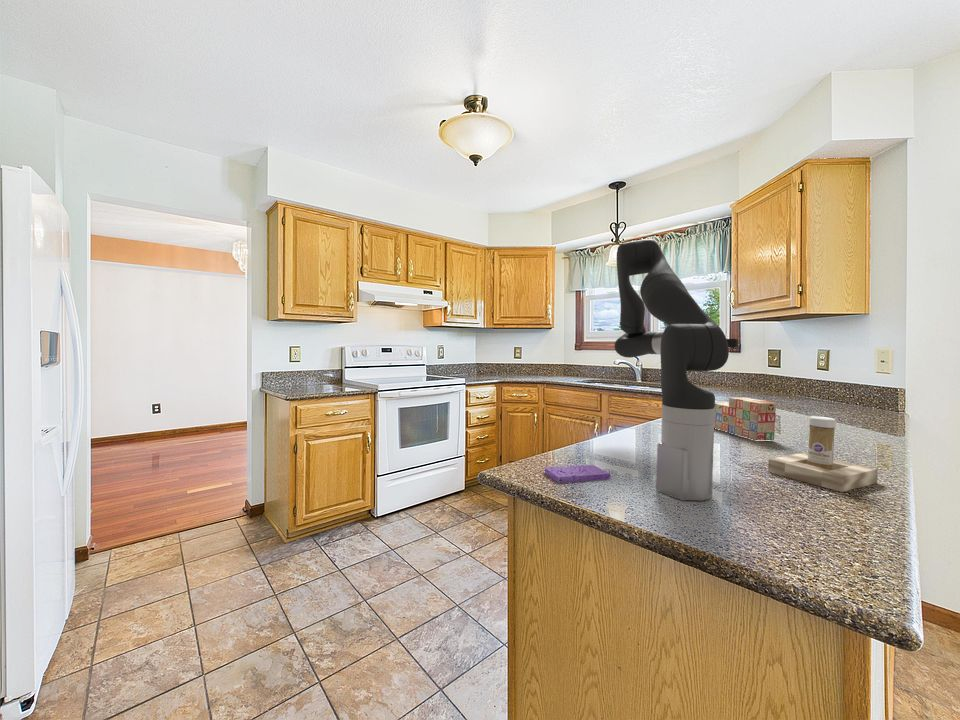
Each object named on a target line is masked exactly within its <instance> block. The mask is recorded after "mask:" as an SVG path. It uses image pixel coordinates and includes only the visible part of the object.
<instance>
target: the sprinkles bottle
mask: <svg viewBox="0 0 960 720" xmlns="http://www.w3.org/2000/svg"><path fill="white" fill-rule="evenodd" d="M808 424H809V426H808V427H809V433H808V434H809V435H808V436H809V437H808V447H807V454H808V465H812V466H816V467H820V468H824V469H828V470H832V467H833V460H834V454H835V453H834V449H835V429H836V426H837V420H836V419H835V418H832V417H827V416H820V415H819V416H818V415H815V416H814V415H812V416H811V415H810V416H809V418H808Z"/></svg>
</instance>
